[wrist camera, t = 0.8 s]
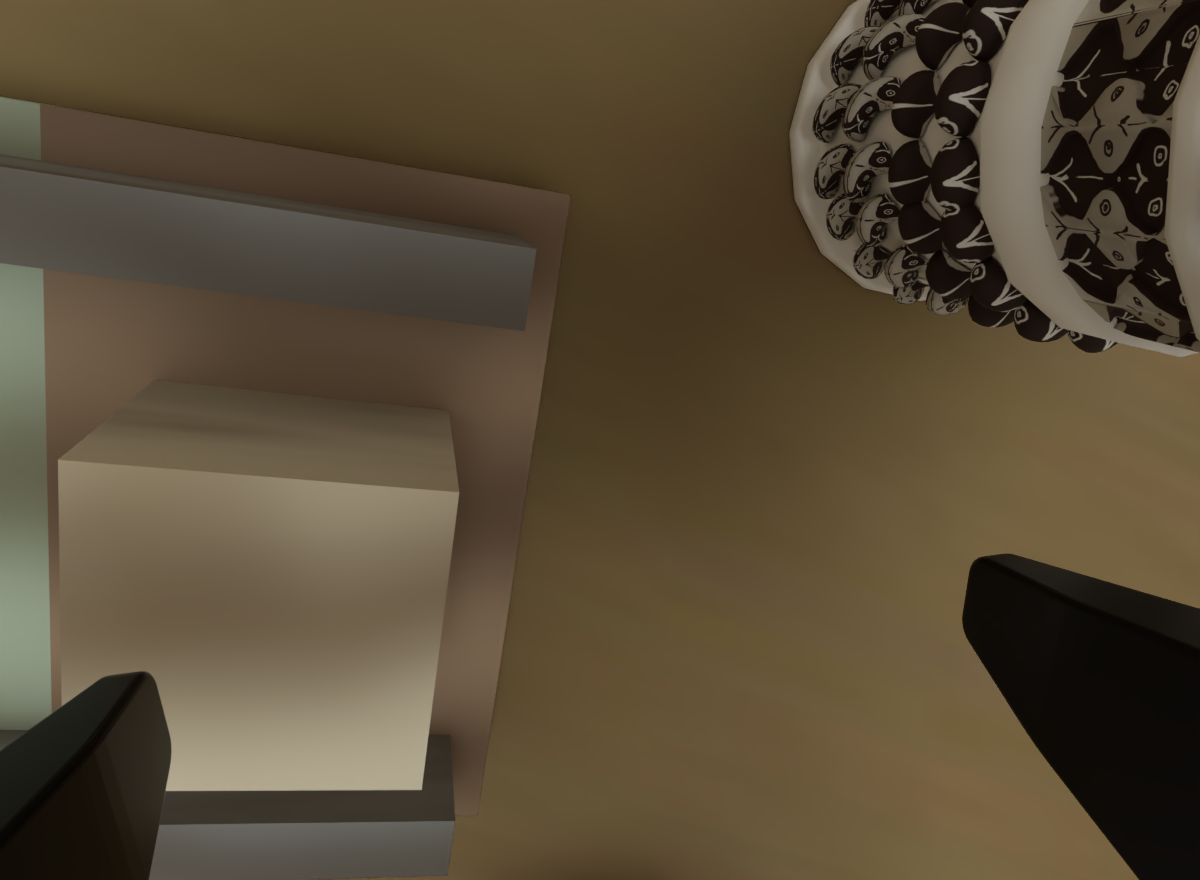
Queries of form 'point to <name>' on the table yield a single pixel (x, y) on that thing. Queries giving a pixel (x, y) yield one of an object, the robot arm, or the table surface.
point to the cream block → (264, 580)
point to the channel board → (274, 364)
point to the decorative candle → (1013, 163)
